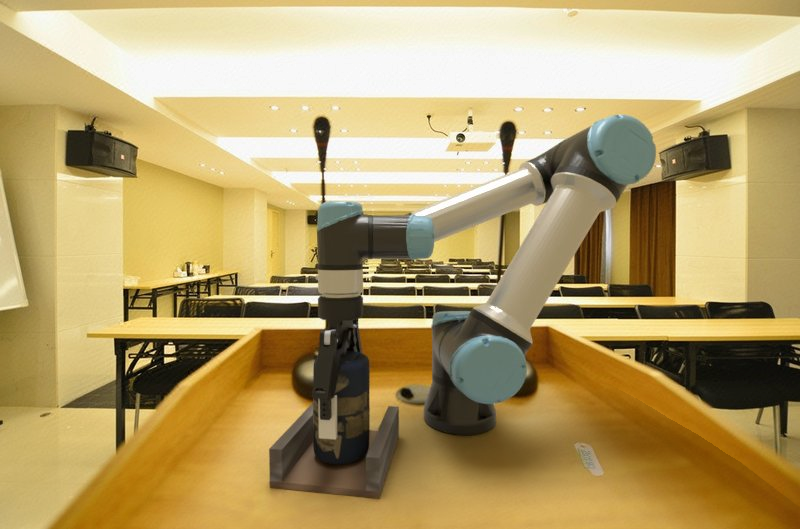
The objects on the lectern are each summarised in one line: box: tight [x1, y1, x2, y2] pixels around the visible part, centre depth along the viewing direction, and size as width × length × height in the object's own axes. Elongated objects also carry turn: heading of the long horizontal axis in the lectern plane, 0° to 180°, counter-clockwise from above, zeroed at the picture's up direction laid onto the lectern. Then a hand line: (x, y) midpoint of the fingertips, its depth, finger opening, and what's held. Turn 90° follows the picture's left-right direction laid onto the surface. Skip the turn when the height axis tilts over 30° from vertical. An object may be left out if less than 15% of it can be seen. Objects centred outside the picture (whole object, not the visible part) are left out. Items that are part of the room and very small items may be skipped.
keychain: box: [574, 442, 604, 477], centre depth 66 cm, size 10×1×3 cm
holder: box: [268, 402, 400, 499], centre depth 65 cm, size 17×18×6 cm
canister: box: [312, 350, 371, 465], centre depth 65 cm, size 10×10×18 cm
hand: (341, 418), depth 65 cm, fingers open, 13 cm apart
